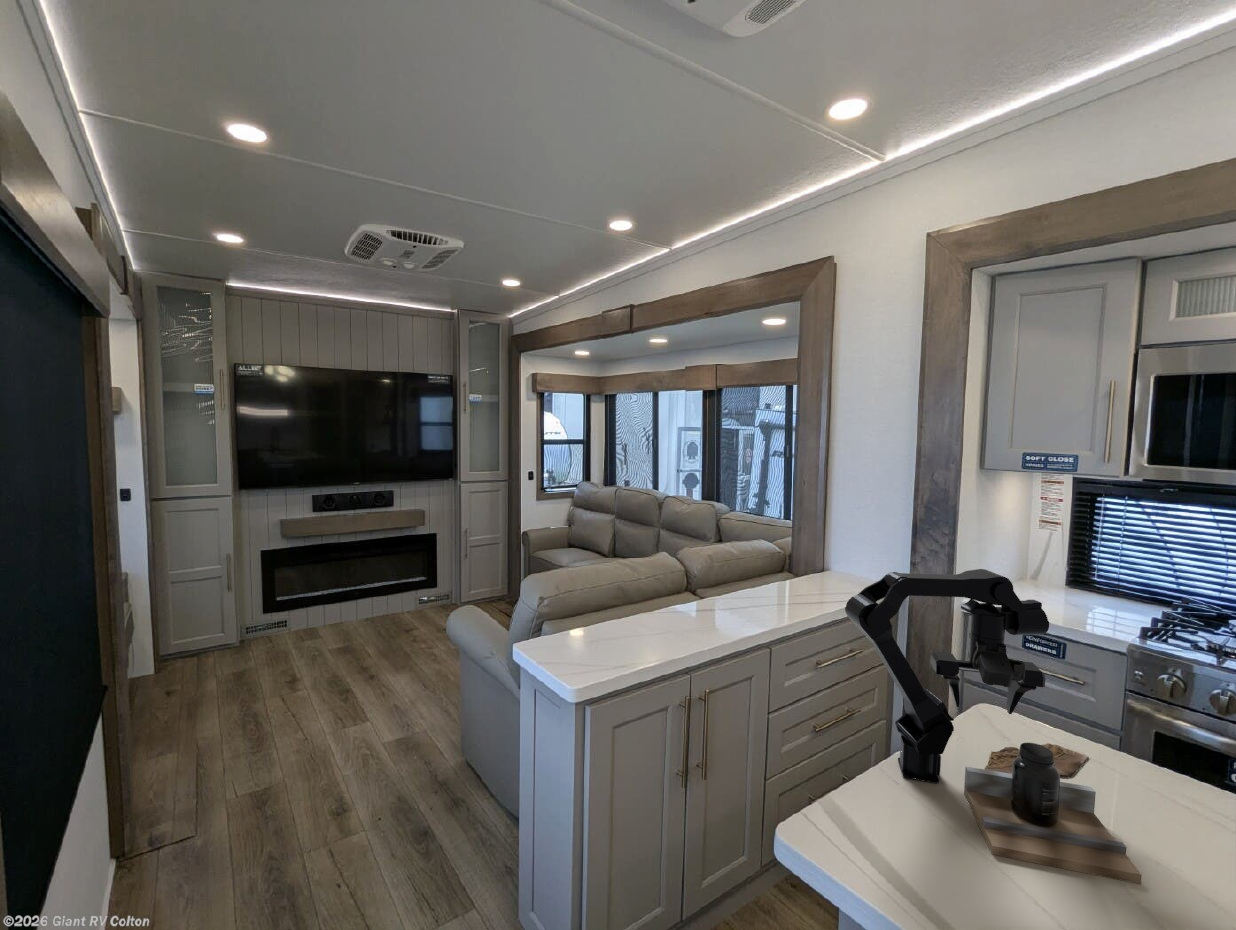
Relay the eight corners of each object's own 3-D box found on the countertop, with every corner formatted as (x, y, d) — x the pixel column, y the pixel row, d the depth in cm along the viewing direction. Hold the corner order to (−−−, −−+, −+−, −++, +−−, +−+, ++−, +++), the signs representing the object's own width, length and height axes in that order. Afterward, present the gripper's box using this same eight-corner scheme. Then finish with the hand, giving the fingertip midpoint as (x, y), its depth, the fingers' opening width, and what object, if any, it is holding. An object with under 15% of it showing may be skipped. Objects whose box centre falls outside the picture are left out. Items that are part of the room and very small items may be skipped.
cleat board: (991, 854, 94) (993, 822, 93) (963, 793, 109) (965, 766, 109) (1140, 883, 88) (1143, 850, 88) (1089, 815, 103) (1091, 786, 103)
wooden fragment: (1061, 743, 127) (1062, 739, 127) (1112, 773, 116) (1113, 768, 116) (960, 755, 123) (960, 750, 122) (1003, 787, 112) (1003, 782, 112)
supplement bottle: (1052, 808, 103) (1056, 744, 102) (1062, 833, 97) (1067, 765, 96) (1006, 797, 106) (1010, 735, 105) (1013, 820, 100) (1018, 754, 99)
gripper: (945, 643, 109) (941, 722, 110) (1060, 655, 104) (1055, 738, 105) (931, 623, 120) (927, 695, 121) (1035, 634, 114) (1030, 709, 115)
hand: (982, 709), depth 115 cm, fingers open, 9 cm apart
